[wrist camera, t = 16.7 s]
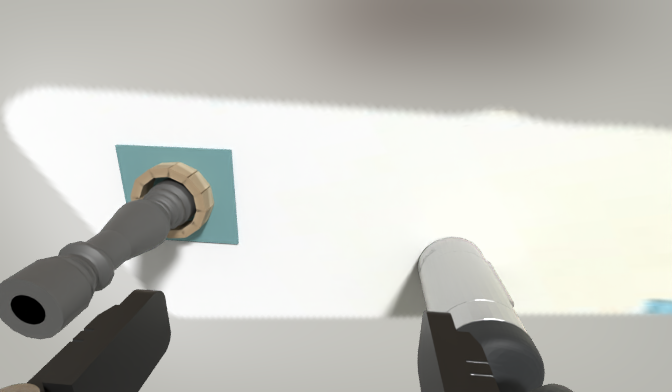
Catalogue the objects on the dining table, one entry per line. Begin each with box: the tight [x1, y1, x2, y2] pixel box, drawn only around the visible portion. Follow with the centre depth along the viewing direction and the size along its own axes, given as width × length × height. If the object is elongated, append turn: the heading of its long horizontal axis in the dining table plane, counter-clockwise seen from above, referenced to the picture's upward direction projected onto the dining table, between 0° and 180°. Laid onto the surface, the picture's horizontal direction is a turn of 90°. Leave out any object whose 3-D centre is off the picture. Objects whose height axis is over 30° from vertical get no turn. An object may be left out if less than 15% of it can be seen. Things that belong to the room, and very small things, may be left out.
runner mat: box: [115, 145, 239, 244], centre depth 52 cm, size 16×14×1 cm
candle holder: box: [0, 177, 197, 339], centre depth 40 cm, size 6×6×25 cm
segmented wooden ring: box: [130, 162, 214, 238], centre depth 51 cm, size 10×10×3 cm
